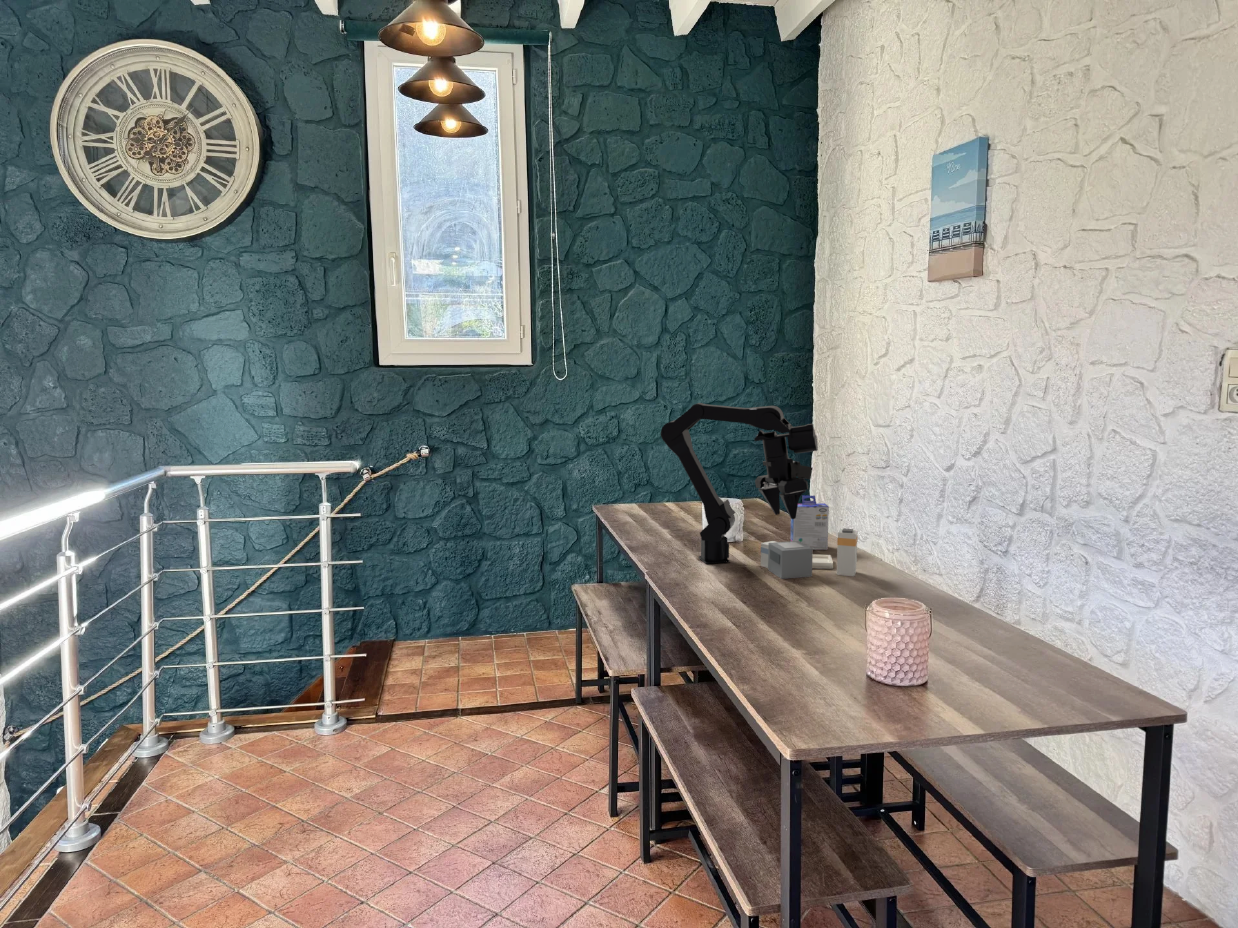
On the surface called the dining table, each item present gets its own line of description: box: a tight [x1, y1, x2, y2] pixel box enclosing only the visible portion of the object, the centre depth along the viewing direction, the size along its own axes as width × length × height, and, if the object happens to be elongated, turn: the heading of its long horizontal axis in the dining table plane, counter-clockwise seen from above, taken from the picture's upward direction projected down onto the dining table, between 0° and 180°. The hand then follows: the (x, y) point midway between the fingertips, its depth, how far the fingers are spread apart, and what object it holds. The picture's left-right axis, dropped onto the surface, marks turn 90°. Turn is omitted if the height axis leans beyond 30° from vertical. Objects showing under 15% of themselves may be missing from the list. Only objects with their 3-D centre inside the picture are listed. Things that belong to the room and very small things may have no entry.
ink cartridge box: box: [790, 495, 830, 550], centre depth 226 cm, size 10×6×14 cm, turn 89°
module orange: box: [836, 528, 859, 577], centre depth 201 cm, size 4×4×11 cm
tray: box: [812, 554, 834, 570], centre depth 210 cm, size 8×8×2 cm
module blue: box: [760, 540, 777, 569], centre depth 208 cm, size 4×4×6 cm
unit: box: [767, 540, 813, 580], centre depth 201 cm, size 8×8×7 cm
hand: (785, 516), depth 207 cm, fingers open, 9 cm apart
